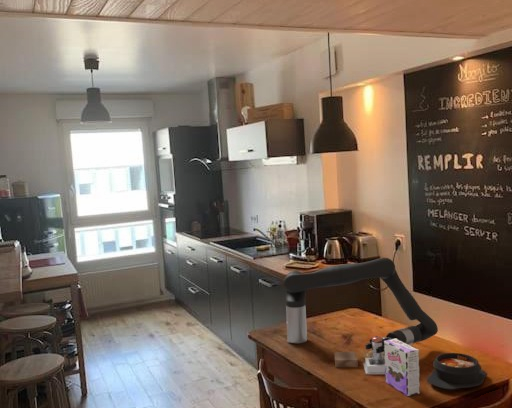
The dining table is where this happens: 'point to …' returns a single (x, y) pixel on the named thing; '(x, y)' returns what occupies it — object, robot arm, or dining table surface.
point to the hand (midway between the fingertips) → (371, 348)
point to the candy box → (402, 366)
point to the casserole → (456, 371)
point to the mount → (345, 359)
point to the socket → (374, 367)
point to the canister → (375, 356)
